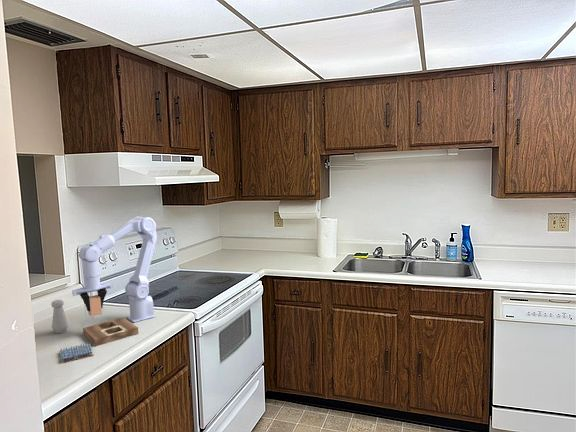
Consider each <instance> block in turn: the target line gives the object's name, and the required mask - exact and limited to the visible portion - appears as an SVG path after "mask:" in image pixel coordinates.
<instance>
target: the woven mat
mask: <svg viewBox="0 0 576 432" xmlns="http://www.w3.org/2000/svg"><path fill="white" fill-rule="evenodd" d="M58 352H59V357H60V359H59V360H60V363H61V364H65V363H68V362H73V361H75V360H81V359H85V358H88V357H93V356H94V355H95V354H94V352H93V348H92V346H91V343H85V344H79V345H75V346H70V347H68V348H67V347H65V348H63V349H62V348H60V350H59V351H58Z"/></svg>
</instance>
